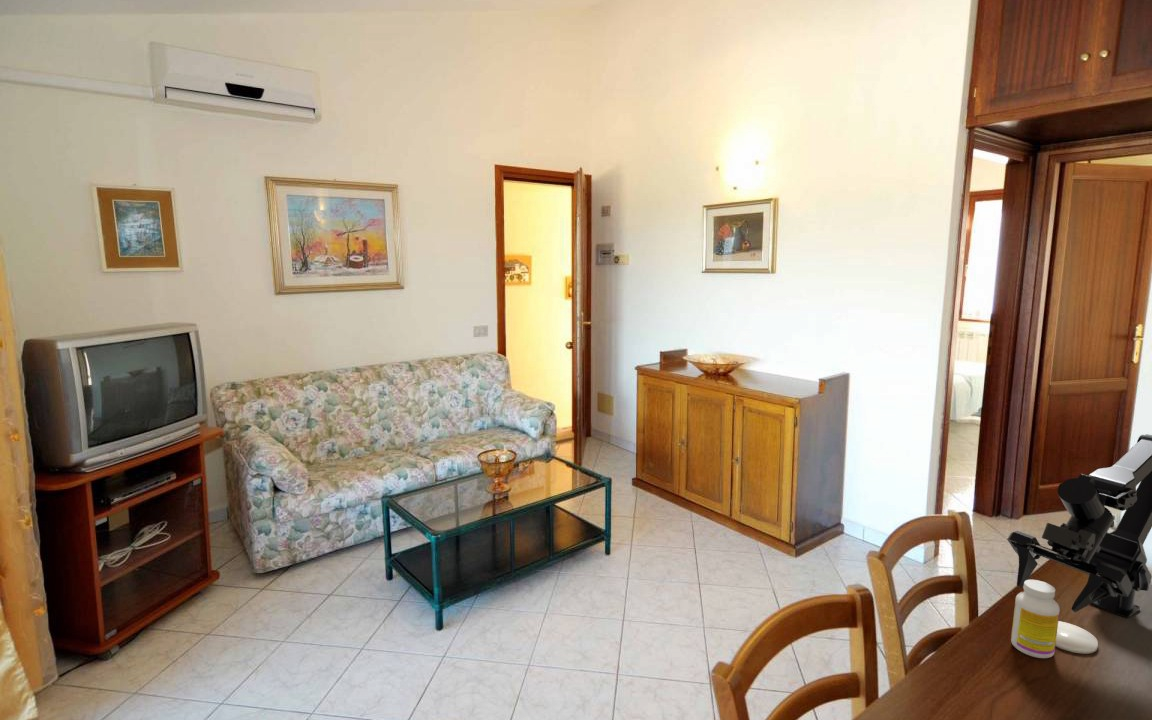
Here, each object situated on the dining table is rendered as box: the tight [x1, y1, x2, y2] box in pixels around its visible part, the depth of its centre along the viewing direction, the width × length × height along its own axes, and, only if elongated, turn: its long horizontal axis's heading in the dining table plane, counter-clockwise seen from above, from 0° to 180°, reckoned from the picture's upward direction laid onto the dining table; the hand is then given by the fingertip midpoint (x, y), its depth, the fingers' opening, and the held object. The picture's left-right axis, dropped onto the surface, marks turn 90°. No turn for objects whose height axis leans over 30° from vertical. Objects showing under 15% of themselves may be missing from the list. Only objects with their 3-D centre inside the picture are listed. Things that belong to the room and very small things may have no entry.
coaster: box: [1055, 620, 1099, 655], centre depth 119 cm, size 9×9×1 cm
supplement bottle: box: [1010, 579, 1061, 659], centre depth 115 cm, size 7×7×13 cm
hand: (1044, 598), depth 115 cm, fingers open, 9 cm apart
